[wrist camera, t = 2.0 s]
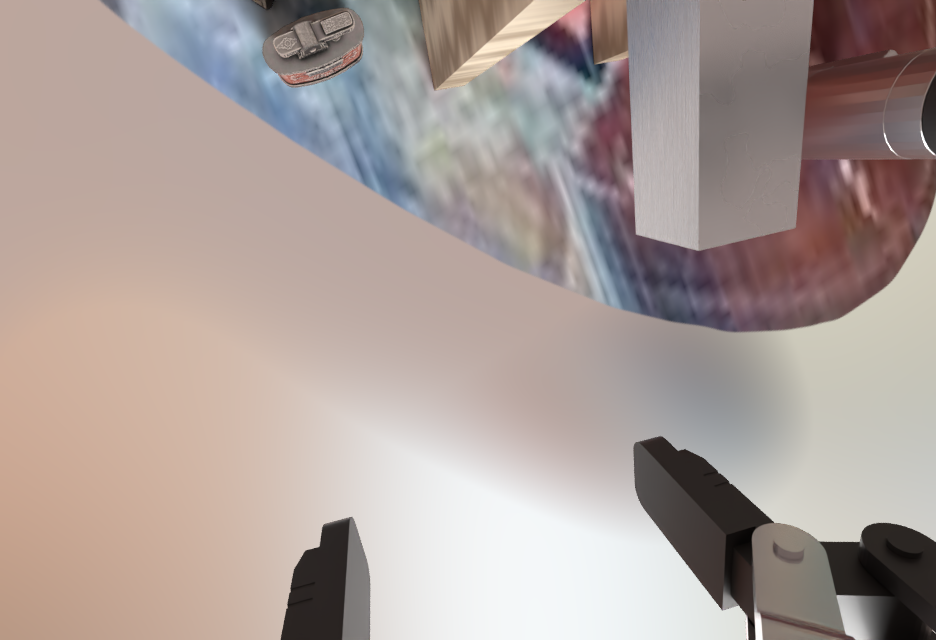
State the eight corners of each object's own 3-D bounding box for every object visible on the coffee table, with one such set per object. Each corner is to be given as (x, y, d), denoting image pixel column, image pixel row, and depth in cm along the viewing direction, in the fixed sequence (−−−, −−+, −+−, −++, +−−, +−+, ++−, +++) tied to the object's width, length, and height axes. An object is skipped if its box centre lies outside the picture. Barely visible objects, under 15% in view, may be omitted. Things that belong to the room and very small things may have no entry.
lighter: (289, 96, 43) (270, 78, 34) (270, 57, 42) (245, 28, 33) (369, 63, 44) (372, 37, 35) (352, 23, 43) (351, -14, 34)
